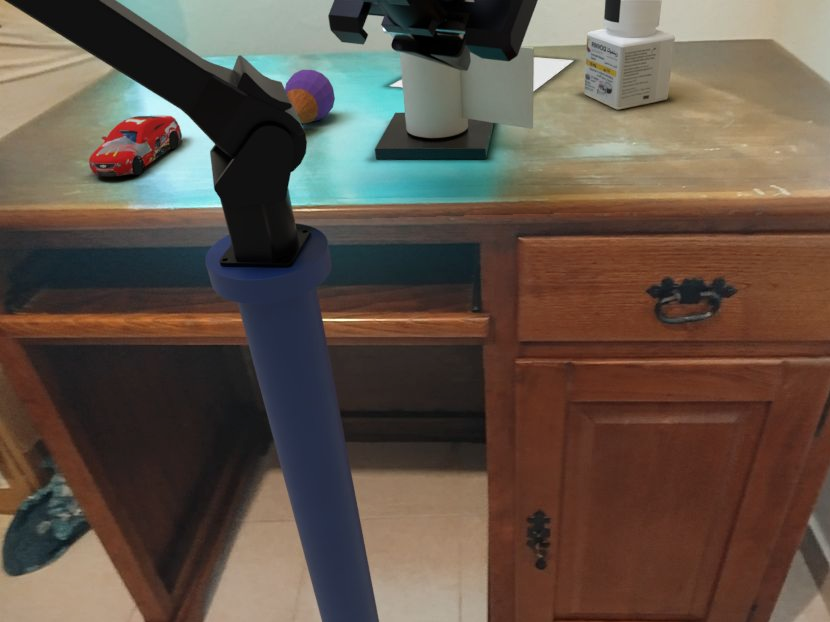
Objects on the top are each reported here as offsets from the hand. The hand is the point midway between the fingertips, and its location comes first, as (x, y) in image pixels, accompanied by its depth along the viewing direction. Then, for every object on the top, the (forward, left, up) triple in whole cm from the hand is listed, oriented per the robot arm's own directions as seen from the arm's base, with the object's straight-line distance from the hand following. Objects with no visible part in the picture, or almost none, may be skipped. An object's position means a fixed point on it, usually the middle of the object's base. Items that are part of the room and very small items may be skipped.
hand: (465, 65), depth 70 cm
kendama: (+8, +22, -10) cm, 25 cm away
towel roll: (+7, +1, -9) cm, 11 cm away
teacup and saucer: (+35, +2, -10) cm, 37 cm away
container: (+23, -17, -10) cm, 31 cm away
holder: (+8, +5, -10) cm, 14 cm away
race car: (+2, +38, -10) cm, 39 cm away
